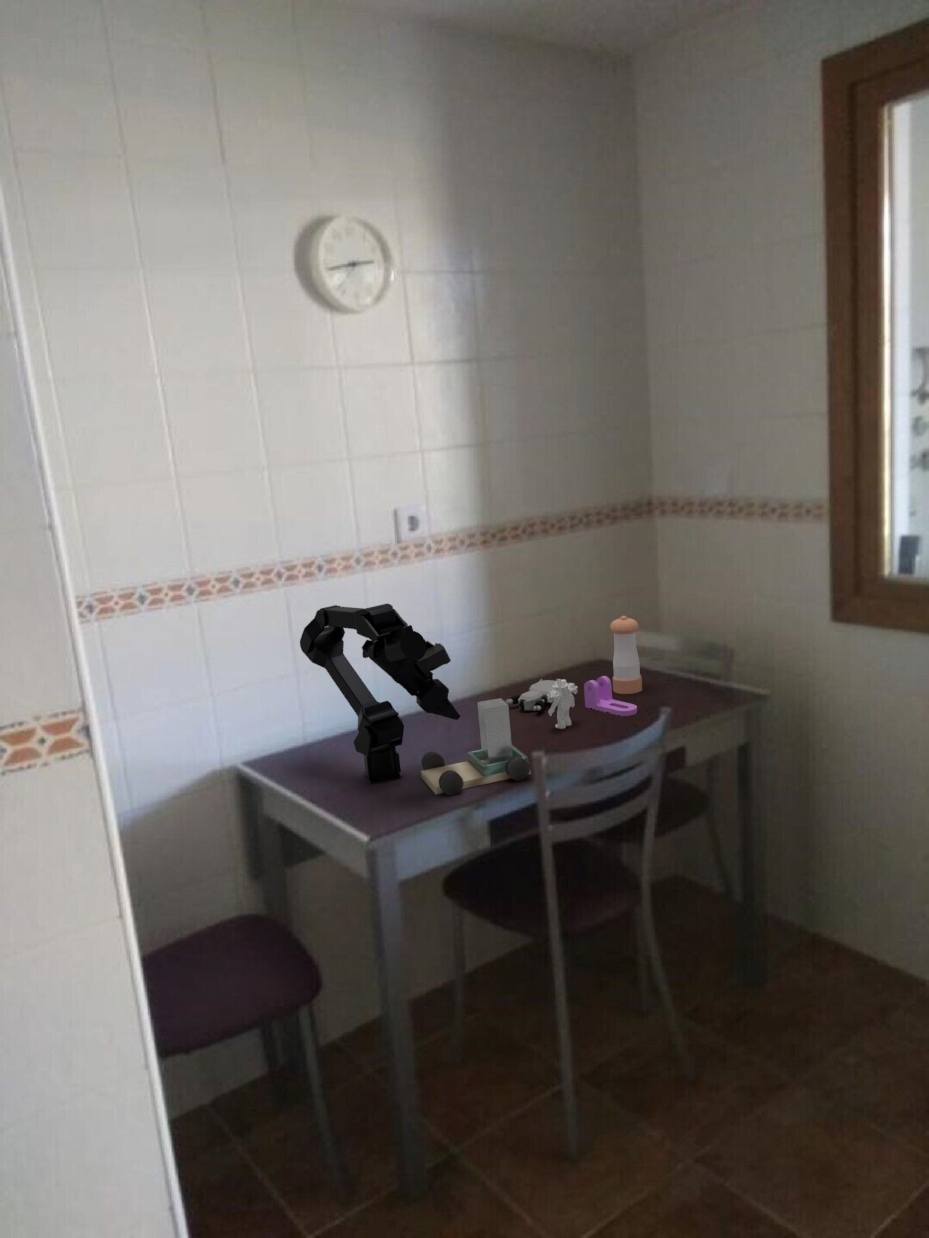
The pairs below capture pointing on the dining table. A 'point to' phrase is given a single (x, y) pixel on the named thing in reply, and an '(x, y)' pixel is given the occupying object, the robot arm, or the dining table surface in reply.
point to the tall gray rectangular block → (495, 731)
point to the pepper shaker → (625, 657)
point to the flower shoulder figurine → (562, 702)
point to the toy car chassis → (471, 771)
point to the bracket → (605, 698)
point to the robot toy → (534, 696)
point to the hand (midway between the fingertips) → (452, 711)
